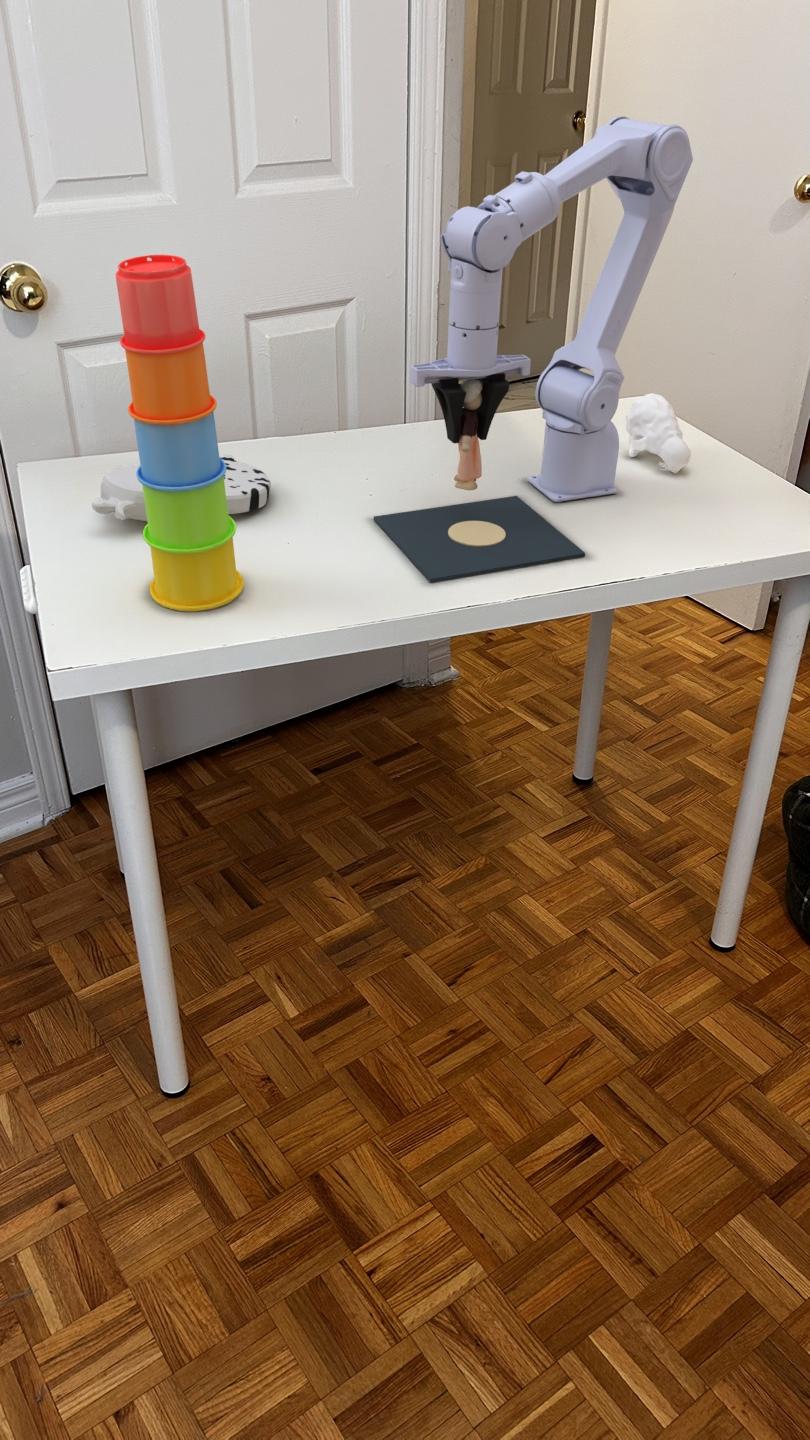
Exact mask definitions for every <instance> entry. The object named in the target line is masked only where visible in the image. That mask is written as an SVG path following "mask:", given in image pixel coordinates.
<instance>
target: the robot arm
mask: <svg viewBox="0 0 810 1440" xmlns="http://www.w3.org/2000/svg"><path fill="white" fill-rule="evenodd" d="M693 161H694V157H693V153H692V147H691V143H690V138H689V136H688V132H687V130H686V129H685V128H684V127H682V126H681V125H678V124H663V123H657V122H650V121H644V120H637V119H632V118H629V117H626V116H623V115H622V116H621V115H620V116H619V115H618V116H615V117H613V118H612V119H610V120H609V121H608V122H607V123H605V124H602V125H599V126H598V127H597V128H596V129H595V132H594V136H593V137H592V138H591V139H589V141H587V142H586V143H584V144H583V145H582V146H580V147H579V148H578V149H577V150H575V151H574V152H573V153H571V154H570V155H569V156H568V157H566V158H565V159H564V160H562V161H561V162H560V163H559V164H557V165H555V166H554V167H553V168H552V169H551V170H549V171H548V172H547V173H546V174H544V175H543V174H542V173H540V172H536V171H530V172H527V171H523V170H522V171H520V172H519V173H517V174H516V175H514V181H513V182H512V183H510V184H509V185H507V186H505V187H504V188H503V189H501V190H499V191H498V192H497V193H494V194H488V195H487V196H485V197H484V198H483V199H482V201H483V202H481V203H480V204H478V206H477V207H475V206H469V205H468V206H463V207H461V208H459V209H458V210H457V211H455V213H453V214H452V215H451V216H450V217H449V219H448V220H447V223H446V225H445V228H444V233H442V234H440V245H441V248H442V252H443V253H444V256H446V258H447V264H448V265H447V272H448V273H449V276H450V283H449V284H450V285H449V286H450V287H449V308H448V309H449V310H448V327H447V329H448V330H447V350H446V351H447V352H446V353H447V354H446V357H444V358H441V359H437V360H431V361H428V362H423V363H419V364H411V365H410V372H409V375H410V377H409V382H410V383H411V384H412V385H413V386H415V387H416V388H419V387H425V385H429V384H430V385H431V387H432V389H433V391H434V394H435V396H436V398H437V400H438V403H439V405H440V409H441V412H442V415H443V419H444V420H443V421H444V425H445V429H446V430H445V431H446V437H447V440H449V441H450V442H451V443H452V444H458V443H459V441H460V435H461V415H462V409H463V408H464V407H463V404H464V400H465V397H466V392H465V391H464V390H463V389H461V383H459V381H466V380H469V379H474V380H479V381H480V382H481V383H482V384H483V389H482V391H481V392H480V393H481V395H482V403H481V405H480V406H479V407H478V408H477V409H476V410H477V418H478V427H477V436H478V440H480V441H486V440H487V438H488V435H489V431H490V428H491V425H492V423H493V419H494V418H495V415H496V413H497V410H498V408H499V407H500V405H501V403H502V401H503V399H504V398H505V396H507V394H508V393H509V391H510V382H509V381H508V380H507V379H506V377H507V376H517V375H519V376H521V377H527V376H530V373H531V364H532V363H531V360H532V359H531V358H529V357H528V356H527V355H524V354H498V341H499V330H500V329H499V327H500V313H501V312H500V311H501V297H502V284H503V269H504V268H507V266H508V265H509V263H510V262H511V261H512V259H513V257H514V255H515V252H516V250H517V248H518V247H519V246H521V245H522V243H523V242H524V241H526V240H527V239H528V238H530V237H532V236H533V235H534V234H536V233H537V232H539V231H541V230H542V229H543V228H545V227H546V226H548V225H549V224H551V223H553V222H554V221H555V220H556V218H557V216H558V214H559V209H560V205H561V204H562V203H564V202H566V201H568V200H569V199H571V198H573V197H575V196H576V195H578V194H580V193H582V192H583V191H585V190H587V189H589V188H591V187H592V186H594V185H596V184H598V183H599V182H601V181H603V180H605V179H606V180H607V182H608V184H609V185H610V187H611V189H612V191H613V192H614V193H615V195H616V197H617V198H618V200H620V203H621V206H622V210H623V217H622V219H621V221H620V224H619V225H618V226H619V227H618V229H617V230H616V234H615V236H614V239H613V242H612V244H611V247H610V249H609V251H608V253H607V256H606V259H605V262H604V265H603V266H602V269H601V272H600V275H599V278H598V279H597V282H596V285H595V287H594V289H593V292H592V294H591V297H590V300H589V302H588V305H587V307H586V310H585V312H584V315H583V317H582V319H581V322H580V325H579V327H578V330H577V332H576V335H575V337H574V339H573V340H572V341H571V342H569V343H567V344H564V345H563V346H561V347H559V348H558V349H556V350H555V351H554V353H553V356H552V358H551V360H550V362H549V363H548V365H547V366H546V368H545V369H544V370H543V371H542V372H541V374H540V376H539V378H538V380H537V383H536V386H535V401H536V403H537V406H538V407H539V408H540V409H541V410H542V415H541V417H542V419H544V420H545V425H544V435H543V436H544V437H543V447H542V455H541V466H540V474H539V475H533V476H528V477H527V482H529V483H530V484H531V485H532V486H533V487H535V488H536V489H537V490H539V492H541V493H542V494H544V495H545V497H547V498H549V499H550V500H551V501H552V502H554V503H557V502H558V503H559V502H560V503H561V502H566V501H573V500H579V499H587V498H593V497H599V496H606V495H612V494H616V493H617V488H615V482H616V481H615V480H616V473H617V466H618V458H619V451H620V438H619V431H618V429H617V426H616V425H615V424H614V423H613V421H612V420H613V418H614V416H615V414H616V412H617V409H618V406H619V399H620V391H621V387H622V384H623V382H624V380H625V375H624V373H623V370H622V369H621V367H620V365H619V363H618V361H617V358H616V353H617V351H618V348H619V346H620V344H621V341H622V339H623V336H624V335H625V331H626V328H627V326H628V324H629V321H630V319H631V317H632V314H633V311H634V310H635V307H636V304H637V302H638V299H639V298H640V294H641V292H642V290H643V287H644V285H645V282H646V280H647V277H648V276H649V273H650V271H651V270H650V269H651V268H652V265H653V263H654V260H655V258H656V256H657V253H658V251H659V249H660V247H661V243H662V241H663V238H664V236H665V234H666V231H667V229H668V226H669V224H670V221H671V219H672V216H673V213H674V210H675V205H676V203H677V201H678V199H679V196H680V193H681V190H682V188H683V186H684V183H685V181H686V179H687V176H688V174H689V172H690V171H689V170H690V168H691V166H692V164H693ZM583 369H584V370H588V371H591V372H592V374H593V375H592V374H590V373H588V372H585V371H582V370H583Z"/></svg>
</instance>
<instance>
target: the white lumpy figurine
mask: <svg viewBox="0 0 810 1440" xmlns="http://www.w3.org/2000/svg"><path fill="white" fill-rule="evenodd" d="M625 425H626V426H625V429H626V432H627V433H628V435H629V436H628V444H629V450H628V456H629V457H630V458H635V457H637V456H638V455H639V453H640V452H641V451H646V450H647V451H648V452H649V453H651V454H654V455H657V456H659V457H660V458H661V459H662V460H663V462H662V461H659V463H658V466H660V467H662V468H661V471H669V472H672V473H673V474H678V473H679V472H680V471H681V470H682V468H684V467H685V466H686V465H687V464H688V463H689V462H690V459H691V455H692V452H691V448H690V447H689V446H688V444H687V443H686V442H685V440H683V432H682V430H681V428H680V425H679V421H678V418H677V416H676V412H675V411H674V407H673V406H672V404H670V402H669V401H668V400H667V399H666V398H665V397H664V396H662V395H661V394H657V393H653V392H650V393H647V394H645V395H643V396H640V397H638V398H636V400H635V401H633V403H632V405H631V406H630V408H629V411H628V412H626V414H625Z"/></svg>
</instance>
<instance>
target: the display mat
mask: <svg viewBox="0 0 810 1440" xmlns="http://www.w3.org/2000/svg"><path fill="white" fill-rule="evenodd" d="M373 521H374V522H375V523H376V524H377V526H378V527H379V528H380V529H381V530H382V531H383V532H384V533H385V535H387V536H388V538H389V539H390V540H391V541H392V542H393V543H394V544H395V546H396V547H397V548H398V549H399V550H400V551H401V552H402V553H403V554H404V556H406V557H407V558H408V560H409V561H410V562H411V563H412V565H414V566H415V567H416V568H417V570H418V571H419V572H420V573H421V574H422V575H423V576H424V577H425V579H426V580H427V581H428V582H429V583H436V582H437V583H438V582H443V581H449V580H454V579H460V578H467V577H472V576H477V575H478V576H479V575H484V574H491V573H496V572H502V571H507V570H508V571H509V570H514V569H519V568H526V567H531V566H537V565H544V564H549V563H555V562H561V561H566V560H573V559H579V558H585V557H586V552H585V551H584V550H583V549H581V547H579V546H578V545H577V544H575V543H574V542H573V541H572V540H570V539H569V538H568V537H567V536H566V535H565V534H564V533H562V532H561V531H560V530H559V529H557V528H556V526H554V525H553V524H551V523H550V522H549V521H548V520H547V519H546V518H544V517H543V516H541V514H539V513H538V512H537V511H536V510H535V509H533V508H532V507H531V506H530V505H528V504H527V503H526V502H525V501H523V500H522V499H521V498H520V497H519V496H518V495H513V496H506V497H499V498H492V499H485V500H479V501H478V500H477V501H472V502H464V503H457V504H451V505H444V506H437V507H430V508H423V509H415V510H409V511H404V512H395V513H389V514H381V515H375V516H373Z"/></svg>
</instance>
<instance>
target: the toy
mask: <svg viewBox="0 0 810 1440" xmlns="http://www.w3.org/2000/svg"><path fill="white" fill-rule="evenodd" d="M219 457H220V456H219ZM220 458H221V459H222V460H223V461H224V462H225V464H226V472H225V474H224V483H225V492H226V500H227V508H228V515H235V514H236V515H237V514H242V513H247V512H253V511H255V510H258V509H260V508H262V507H264V506H265V505H266V504H267V503H268V501H269V499H270V496H271V486H272V485H271V481H270V479H269V477H268V475H267V474H266V473H265V472H263V471H262V470H261V469H259V468H257V467H255V466H253V465H250V464H249V463H248V464H247V463H246V462H245V463H244V462H241V461H238V460H235V457H234V456H233V455H231V454H225V455H223V457H222V456H221V457H220ZM139 466H140V463H129V464H123V465H118V466H115V467H111V468H110V469H108V470H107V471H106V472H105V474H104V475H103V477H102V480H101V484H100V497H98V498H96V499H94V500H93V501H92V502H91V508H92V510H94V511H95V513H98V514H101V515H108V514H111V513H114V517H115V518H116V520H120V521H124V520H126V519H131V520H134V521H141V522H148V521H147V514H146V506H145V499H144V492H143V486H142V484H141V483H140V482H139V481H138V479H137V476H136V472H137V469H138V468H139Z"/></svg>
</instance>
